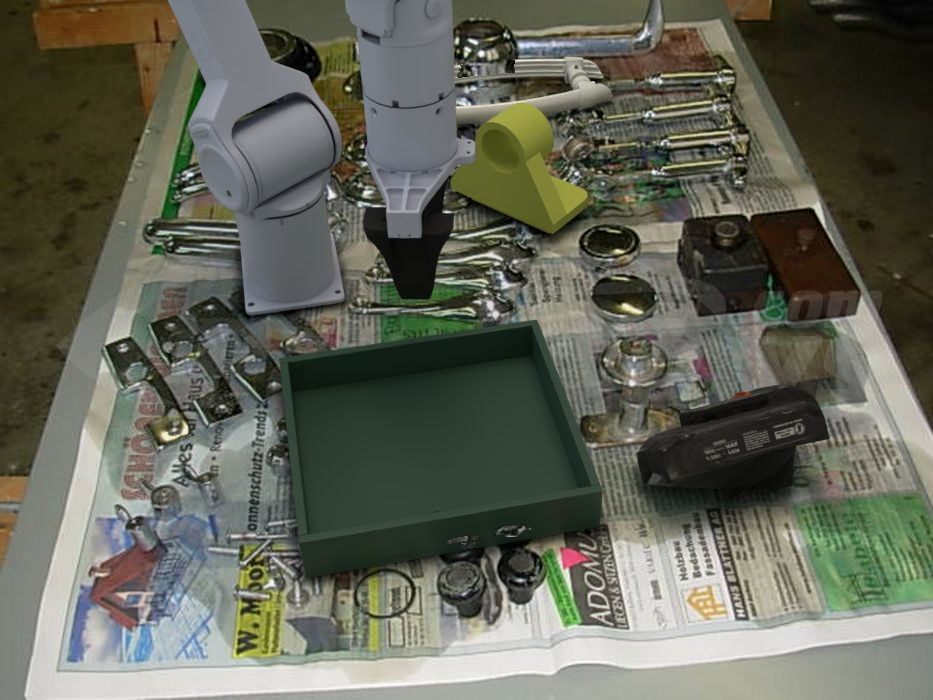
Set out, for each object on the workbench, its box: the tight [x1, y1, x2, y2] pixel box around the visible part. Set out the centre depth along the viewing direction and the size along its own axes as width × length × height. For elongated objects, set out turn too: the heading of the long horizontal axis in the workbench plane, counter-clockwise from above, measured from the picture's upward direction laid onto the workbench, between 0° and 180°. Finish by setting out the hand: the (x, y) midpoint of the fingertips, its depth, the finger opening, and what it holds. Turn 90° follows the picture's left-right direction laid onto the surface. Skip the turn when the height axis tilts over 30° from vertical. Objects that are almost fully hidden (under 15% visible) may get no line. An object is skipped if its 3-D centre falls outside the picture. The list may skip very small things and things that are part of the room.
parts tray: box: [278, 319, 604, 579], centre depth 76 cm, size 17×19×4 cm
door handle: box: [454, 56, 614, 126], centre depth 113 cm, size 3×10×25 cm
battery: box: [636, 383, 831, 501], centre depth 73 cm, size 12×8×7 cm
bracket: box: [450, 103, 589, 235], centre depth 96 cm, size 11×6×10 cm, turn 51°
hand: (420, 261), depth 77 cm, fingers open, 7 cm apart
